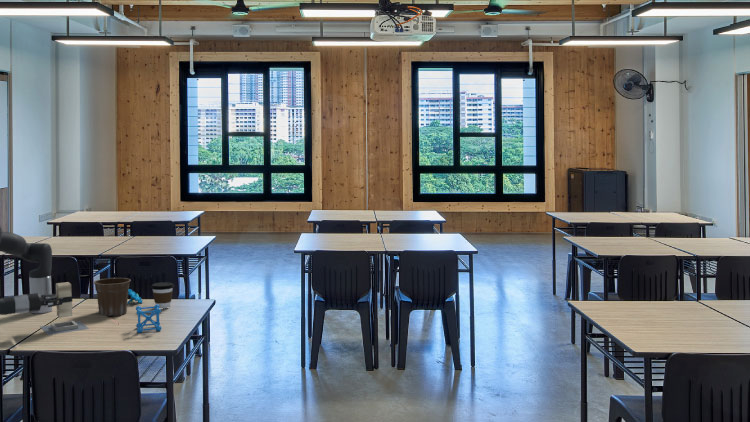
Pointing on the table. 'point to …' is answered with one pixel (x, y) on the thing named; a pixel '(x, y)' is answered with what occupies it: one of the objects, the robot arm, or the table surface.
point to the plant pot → (112, 296)
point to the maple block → (62, 291)
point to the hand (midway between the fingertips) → (70, 297)
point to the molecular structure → (148, 318)
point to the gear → (134, 297)
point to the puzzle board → (64, 327)
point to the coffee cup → (162, 293)
